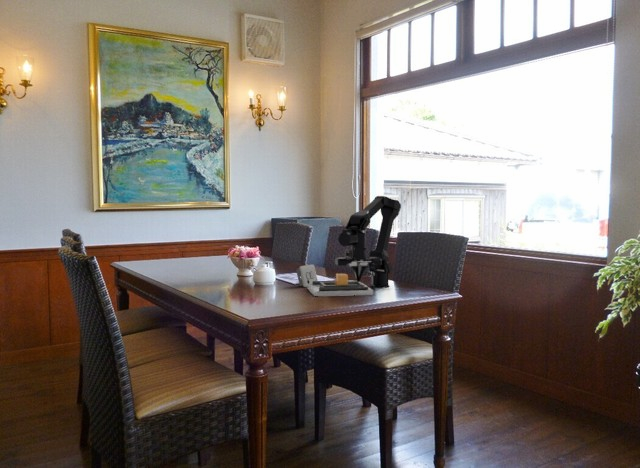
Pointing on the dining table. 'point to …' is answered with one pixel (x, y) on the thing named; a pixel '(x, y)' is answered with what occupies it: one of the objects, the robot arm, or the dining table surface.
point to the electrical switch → (306, 275)
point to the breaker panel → (339, 288)
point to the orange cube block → (341, 279)
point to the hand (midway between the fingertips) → (358, 281)
